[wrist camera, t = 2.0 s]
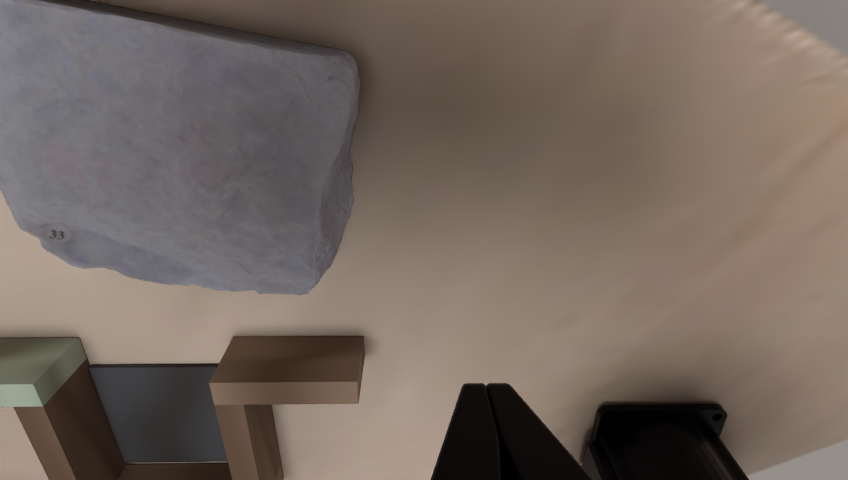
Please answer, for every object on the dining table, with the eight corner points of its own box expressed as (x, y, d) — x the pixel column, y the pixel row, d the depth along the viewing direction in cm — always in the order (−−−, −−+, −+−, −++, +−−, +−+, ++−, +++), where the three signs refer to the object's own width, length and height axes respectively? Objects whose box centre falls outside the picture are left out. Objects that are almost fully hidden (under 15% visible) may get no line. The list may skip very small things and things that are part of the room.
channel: (341, -77, 15) (326, -94, 13) (370, 476, 27) (366, 529, 24) (-384, -90, 15) (-561, -110, 12) (-37, 482, 26) (-88, 537, 23)
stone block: (353, 249, 23) (374, 27, 17) (333, 326, 19) (351, 74, 13) (93, 209, 22) (16, -40, 16) (18, 280, 18) (-121, -11, 12)
